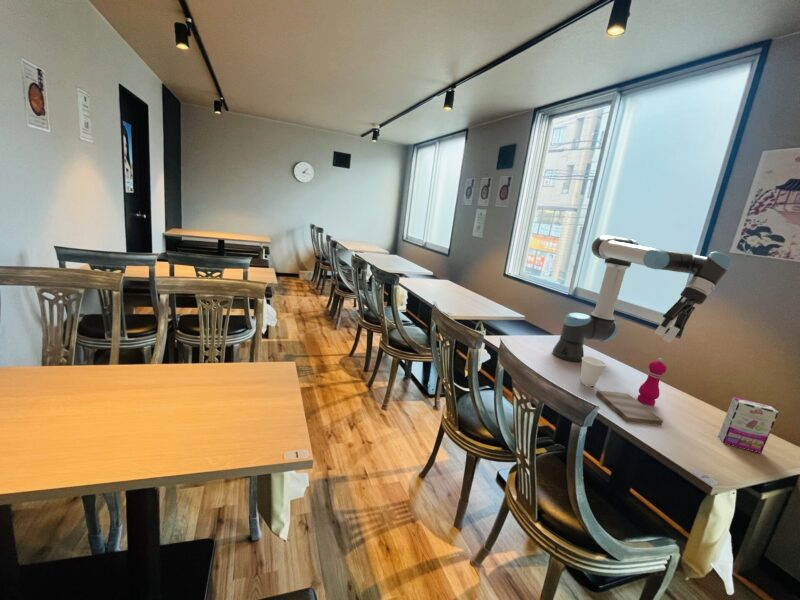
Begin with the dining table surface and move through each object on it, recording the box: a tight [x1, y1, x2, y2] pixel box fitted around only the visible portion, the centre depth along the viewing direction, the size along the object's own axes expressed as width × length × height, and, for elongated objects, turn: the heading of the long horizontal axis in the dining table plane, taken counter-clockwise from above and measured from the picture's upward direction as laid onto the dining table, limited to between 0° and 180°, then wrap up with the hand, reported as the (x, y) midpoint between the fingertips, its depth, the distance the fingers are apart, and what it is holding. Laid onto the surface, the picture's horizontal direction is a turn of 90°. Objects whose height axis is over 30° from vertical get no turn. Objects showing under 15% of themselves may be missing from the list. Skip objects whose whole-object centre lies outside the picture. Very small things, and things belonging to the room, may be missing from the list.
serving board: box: [595, 389, 664, 426], centre depth 145 cm, size 20×14×2 cm
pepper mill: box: [636, 357, 667, 407], centre depth 152 cm, size 7×7×20 cm
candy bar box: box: [717, 396, 780, 454], centre depth 129 cm, size 11×5×16 cm, turn 68°
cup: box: [579, 356, 607, 387], centre depth 163 cm, size 10×10×11 cm
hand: (662, 338), depth 143 cm, fingers open, 13 cm apart
